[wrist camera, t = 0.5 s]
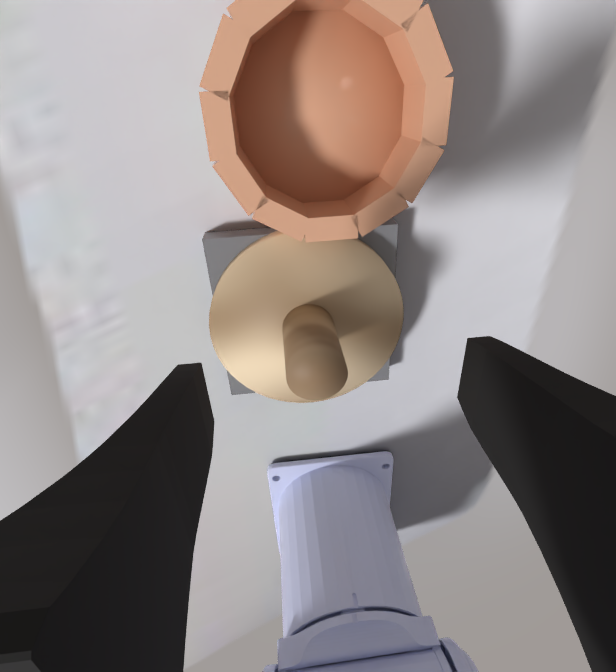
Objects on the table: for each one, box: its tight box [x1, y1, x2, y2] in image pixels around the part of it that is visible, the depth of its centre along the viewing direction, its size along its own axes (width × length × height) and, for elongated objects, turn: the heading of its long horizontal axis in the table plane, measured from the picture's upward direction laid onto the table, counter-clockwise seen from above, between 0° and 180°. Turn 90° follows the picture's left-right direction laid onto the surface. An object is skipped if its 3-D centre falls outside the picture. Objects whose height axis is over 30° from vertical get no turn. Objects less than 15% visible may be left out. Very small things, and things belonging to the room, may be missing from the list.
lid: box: [209, 231, 403, 403], centre depth 18 cm, size 9×9×5 cm
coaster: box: [202, 218, 398, 395], centre depth 20 cm, size 8×8×1 cm
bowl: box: [199, 0, 454, 242], centre depth 15 cm, size 8×8×3 cm
